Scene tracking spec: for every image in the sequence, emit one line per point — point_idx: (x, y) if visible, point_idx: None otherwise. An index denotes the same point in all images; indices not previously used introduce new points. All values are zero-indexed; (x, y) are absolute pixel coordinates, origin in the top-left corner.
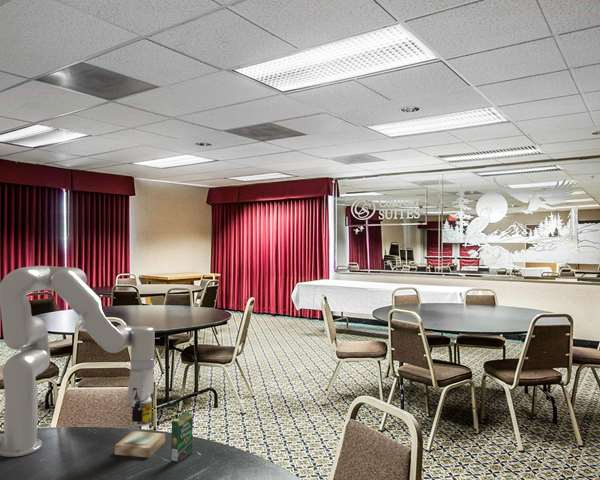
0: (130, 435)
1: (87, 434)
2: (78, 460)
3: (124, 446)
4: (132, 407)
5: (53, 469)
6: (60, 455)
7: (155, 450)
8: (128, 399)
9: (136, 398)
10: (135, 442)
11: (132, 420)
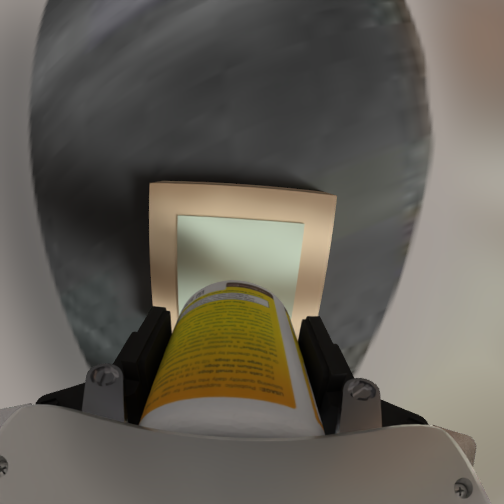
0: (278, 207)
1: (345, 4)
2: (105, 78)
3: (149, 233)
4: (60, 396)
5: (54, 57)
6: (145, 3)
7: None
8: (18, 412)
9: (230, 434)
10: (188, 272)
11: (152, 308)
